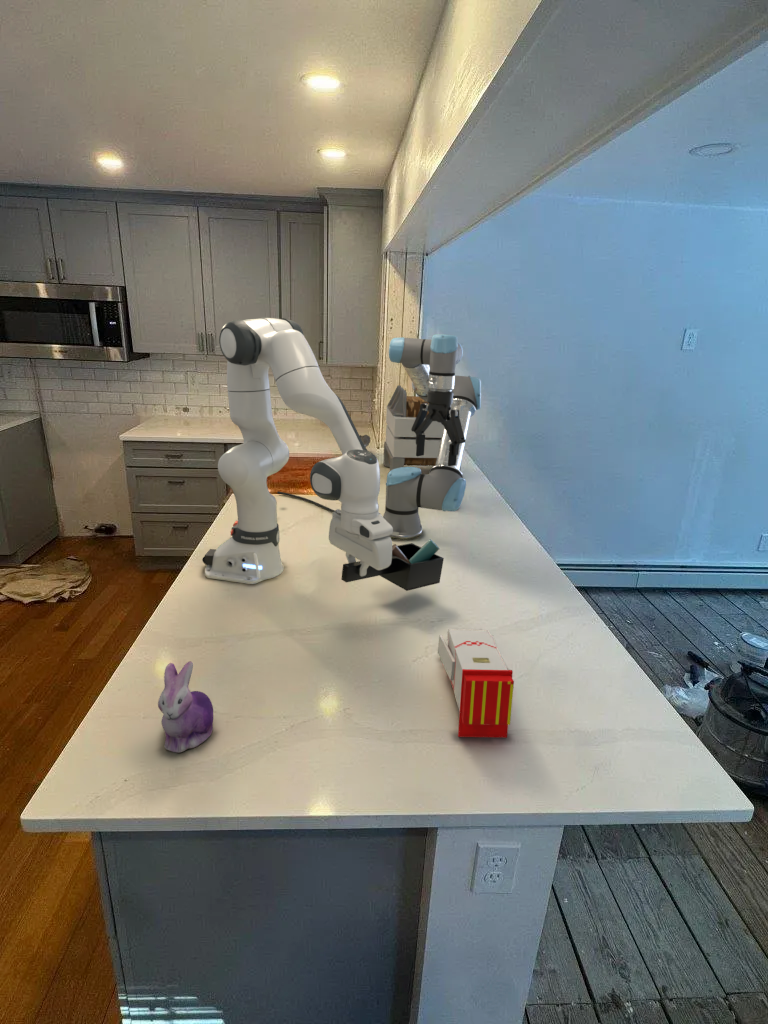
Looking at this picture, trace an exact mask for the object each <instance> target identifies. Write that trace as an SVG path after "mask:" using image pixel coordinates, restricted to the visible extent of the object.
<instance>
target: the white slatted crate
mask: <svg viewBox="0 0 768 1024" xmlns="http://www.w3.org/2000/svg"><path fill="white" fill-rule="evenodd" d="M407 394H408V393H407V390H406V389H404V388H403V387H402V385H399V384H398V385H397V386H396V388H395V390H394V392H393V394H392V395H391V398H390V400H389V402H388V404H387V405H386V413H385V414H386V415H385V423H386V428H385V438H384V442H383V466H384V467H388V468H389V472H390V471H391V470H393V469H396V468H401V467H405V466H406V467H417V466H418V467H434V466H435V465H436V460H437V456H438V451H439V446H440V442H441V437H442V432H443V428H444V425H442V424H441V422H440V423H439V422H437V421H433V422H432V423H431V424H430V425H429V427H428V428H427V429H426V430H425V432H424V435H425V446H424V455H422V456H416V448H417V445H416V434H415V432H414V431H413V432H412V430H411V429H412V426H413V424H414V422H415V420H416V417H417V415H418V413H419V411H420V405H421V403H428V402H426V401H424V400H423V399H421V398H420V397H419V396H418V395H416V396H415V395H414V396H413V395H412V396H411V395H407ZM428 404H429V403H428ZM428 413H429V412H427V414H426V416H427V415H428ZM424 420H425V419H424ZM422 435H423V434H422ZM462 461H463V460H462ZM462 461H461V463H462ZM460 471H461V472H462V465H461V466H460Z"/></svg>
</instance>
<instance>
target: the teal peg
mask: <svg viewBox="0 0 768 1024" xmlns="http://www.w3.org/2000/svg"><path fill="white" fill-rule="evenodd" d="M439 550H440V547H439V546H438V545H437V544H436V542H435V541H434V540H432V539H431V538H430V539H429V540H427V542H426V543H425V544H424V545H423V546H421V549H420V550H419V551H418V552H417V553H416V554H415V555H414V556H413V557H412V558H410V559H409V561H410V563H411V564H413V563H418V562H422V561H427V560H429V559H430V558H431V557H432V556H433V555H434V554H436V553H438V551H439Z"/></svg>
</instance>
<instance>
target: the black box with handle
mask: <svg viewBox="0 0 768 1024" xmlns="http://www.w3.org/2000/svg"><path fill="white" fill-rule="evenodd" d="M397 546H398V548H399V549H400V550H401V551H402V553H403V554H404V555H405V556H406V557H407V559H408V560H409V559H410V558H412V557H413V556H414V555H415V554H416V553H417V552H418V551H419V550H420V549H421V548H422V546H419V545H417V544H415V543H412V542H411V543H405V544H399V545H397ZM444 559H445V558H444V557H442V556H440V555H438V554H436V553H435V554H434V555H433V556H432V557H431V558H430V559H429V560H427V561H422V562H418V563H413V564H410V563H408V562H406V561H404V560H402V559H400V558H398V557H397V556H395V555H393V554H392V561H391V564H390V566H389V567H387V568H385V569H382V570H376V569H375V568H373V567H371V566H369V567H368V568H367V574H366V575H365V576H360V575H358V574H357V572H358V571H357V568H360V567H361V565H362V564H360V560H358V561H356V562H353V563H343V564H342V570H341V577H340V580H341V581H343V582H344V583H350V582H351V583H352V582H355V581H360V580H365V579H369V578H375V577H382V578H383V579H385V580H387V581H388V582H390V583H392V584H394V585H395V586H397V587H399V588H401V589H402V590H404V591H405V592H408V591H413V590H417V589H421V588H424V587H428V586H429V587H430V586H432V585H438V584H440V583H441V576H442V570H443V565H444Z"/></svg>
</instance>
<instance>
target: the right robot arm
mask: <svg viewBox="0 0 768 1024" xmlns="http://www.w3.org/2000/svg"><path fill="white" fill-rule="evenodd" d="M458 340H459V339H458V336H457V335H455V334H441V333H439V334H438V333H437V334H433V335H432V337H431V339H430V338H415V337H414V338H413V337H393V338H392V339H391V340H390V341H389V345H388V358H389V361H390V362H392V363H394V364H395V363H396V364H401V365H402V367H403V369H404V370H405V372H406V374H407V375H408V377H409V379H410V381H411V387H412V390H413V391H414V393H415V394H416V396H418V397H420V398H421V399H423V400H424V401H426V402H428V403H429V404H428V403H421V405H420V411H419V413H418V415H417V417H416V420H415V422H414V424H413V426H412V429H411V430H412V432H413V431H414V432H415V434H416V445H417V448H416V456H422V455H424V446H425V435H424V432H425V430H426V429H427V428H428V427H429V425H430V424H431V423H432V422H433V421H437V422H439V423H440V422H441V424H442V425H444V428H443V432H442V437H441V442H440V446H439V451H438V456H437V460H436V465H435V466H431V468H430V469H429V472H428V473H422V469H421V468H419V467H417V466H404V467H401V468H396V469H393V470H391V471H390V470H389V472H388V473H387V475H386V482H385V504H384V505H385V507H384V508H385V509H384V513H383V515H382V516H383V518H384V519H385V520H386V521H387V522H388V523H389V524H390V525H391V526H392V527H393V533H392V534H391V535H389V536H390V538H391V540H395V541H410V540H415V539H418V538H420V537H421V536H422V535H423V525H422V524H421V518H420V515H419V508H422V509H428V510H436V511H442V512H457V511H458V510H459V509H460V507H461V505H462V502H463V500H464V497H465V491H466V488H467V487H466V486H467V480H466V479H465V478H464V474H463V472H462V470H461V471H460V466H461V467H462V462H461V461H463V455H464V450H465V445H466V440H467V436H468V435H467V434H468V429H469V425H470V418H471V417H472V416H474V415H475V413H476V411H479V410H481V407H482V406H481V405H482V380H481V378H480V377H477V376H470V375H468V376H466V375H456V365H457V364H459V363H460V362H461V360H462V358H463V355H464V349H463V346H462V345H461V343H459V342H458ZM427 412H429V413H428V415H427V416H426V414H427ZM424 419H425V420H424ZM422 434H423V435H422ZM276 494H278V495H282V496H286V497H291V498H294V499H299V500H302V501H305V502H308V503H310V504H313V505H315V506H318V507H319V508H321V509H324V510H326V511H328V512H331V513H333V512H334V511H335V510H336V509H335V510H334V509H332V508H330V507H328V506H326V505H324V504H321V503H318V502H317V501H314V500H312V499H309V498H306V497H303V496H301V495H300V496H299V495H297V494H292V493H288V492H284V491H279V490H278V491H277V493H276Z"/></svg>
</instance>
